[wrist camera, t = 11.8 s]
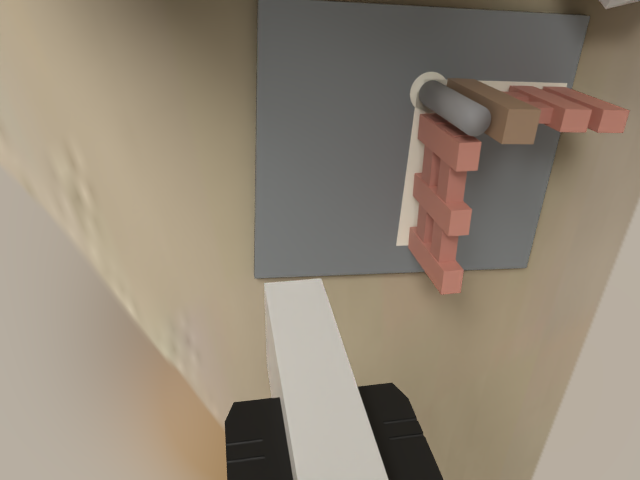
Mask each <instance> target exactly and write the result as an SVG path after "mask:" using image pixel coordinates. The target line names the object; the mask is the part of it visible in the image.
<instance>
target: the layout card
mask: <svg viewBox="0 0 640 480" xmlns="http://www.w3.org/2000/svg"><path fill="white" fill-rule="evenodd" d="M589 19H590V16H587V15H573V14H555V13H537V12H519V11H502V10H484V9H466V8H448V7H431V6H413V5H395V4H377V3H360V2H342V1H324V0H258V17H257V92H256V167H255V242H254V277H255V278H277V277H303V276H329V275H355V274H381V273H406V272H425V271H424V270H423V268H422V267H421V265H420V264H419V262H418V261H417V260H416V258H415V257H414V255H413V254H412V253H411V251H410V250H409V248H408V243H409V232H410V227H417V221H418V210H419V202H418V201H417V200H416V199H415V198H414V197H413V186H414V175H415V173H422V168H423V157H424V146H425V145H424V144H423V143H422V142H421V141H420V140H418V129H419V117H420V114H429V113H435V112H434V111H432V110H431V109H429V108H428V107H426V106H425V105H423V104H422V103H421V101H420V99H419V91H420V88H421V87H422V85H423V84H424V83H426V82H427V81H430V80H435V81H438V82H440V83H442V84H443V85H445V86H447V81H448V80H447V78H461V79H475V80H478V81H480V82H482V83H484V84H486V85H488V86H491V87H493V88H495V89H497V90H499V91H503V92H509V87H510V85H514V86H534V87H537V88H539V89H543V86H548V87H567V88H570V89H572V86H573V82H574V78H575V74H576V70H577V66H578V62H579V58H580V54H581V50H582V47H583V43H584V39H585V35H586V31H587V27H588V23H589ZM560 133H561V132H559V131H557V130H555V129H553V128H551V127H549V126H547V125H545V124H538V127H537V131H536V135H535V140H534V144H501V143H499V142H498V141H496V140H495V139H493V138H491V137H490V136H488V135H487V134H485V133H483V134H481V135H478V136H473V137H475V138H476V139H478V140H479V141H481V142H482V143H481V150H480V157H479V164H478V170H477V171H467V176H466V183H465V191H464V199H463V201H464V202H465V203H466V204H467V205H468V206H469V207H470V208H471V209H472V214H471V221H470V228H469V235H461V236H459V237H458V244H457V252H456V261H457V262H458V263H459V265H460V266H461V267H462V268H463V269H464V270H484V269H510V268H526V267H527V263H528V260H529V256H530V252H531V248H532V244H533V240H534V236H535V232H536V228H537V224H538V220H539V216H540V212H541V208H542V204H543V200H544V196H545V192H546V189H547V185H548V181H549V177H550V173H551V169H552V165H553V161H554V157H555V153H556V149H557V145H558V141H559V137H560Z"/></svg>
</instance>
